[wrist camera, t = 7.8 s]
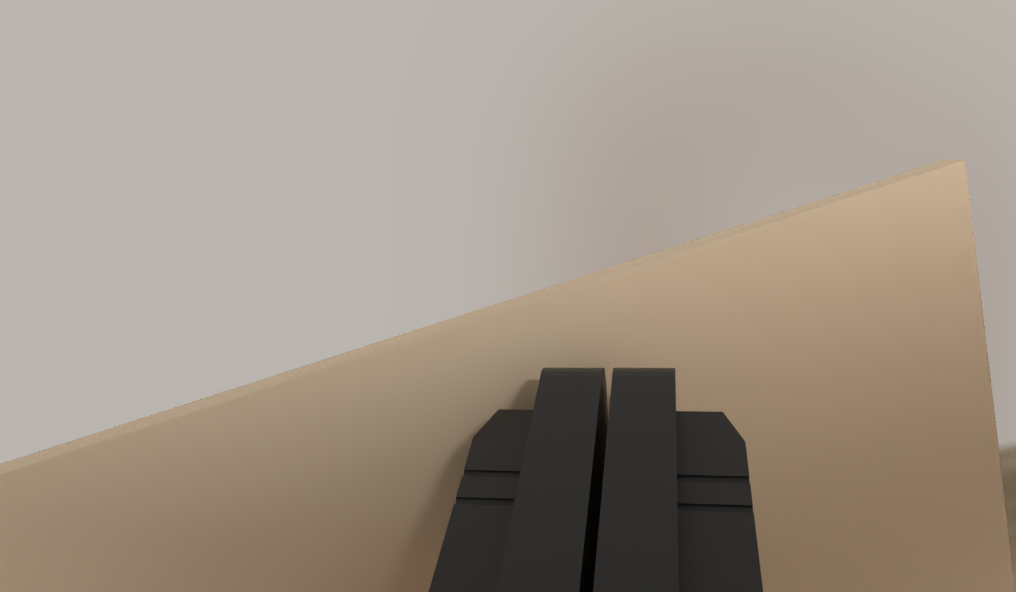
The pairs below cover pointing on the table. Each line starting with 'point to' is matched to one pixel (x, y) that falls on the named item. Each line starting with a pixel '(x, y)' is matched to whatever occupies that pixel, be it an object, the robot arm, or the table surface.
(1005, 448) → the table surface
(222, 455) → the front flap
